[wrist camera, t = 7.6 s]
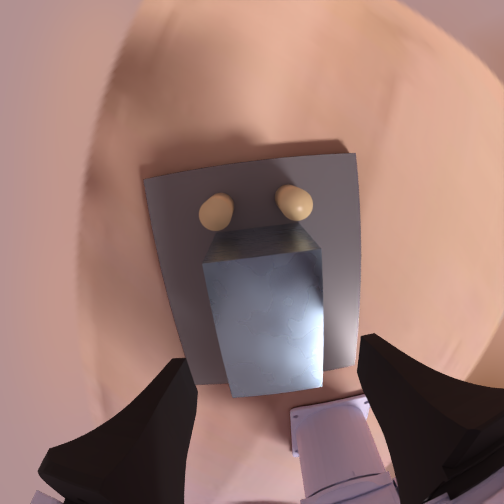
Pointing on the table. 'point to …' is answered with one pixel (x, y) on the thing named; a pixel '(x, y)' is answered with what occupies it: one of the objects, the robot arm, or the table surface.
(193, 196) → the grey pegged base plate
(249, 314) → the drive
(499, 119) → the table surface
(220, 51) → the table surface
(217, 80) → the table surface
